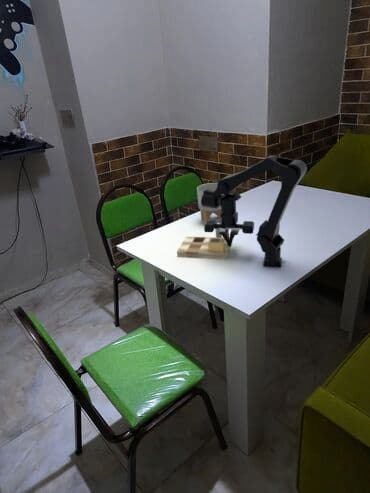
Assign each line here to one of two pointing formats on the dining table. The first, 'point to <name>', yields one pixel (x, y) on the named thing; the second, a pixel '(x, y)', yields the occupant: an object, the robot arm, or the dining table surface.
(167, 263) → the dining table surface
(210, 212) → the planter
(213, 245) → the block
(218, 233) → the peg
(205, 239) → the subfloor board
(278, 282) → the dining table surface
